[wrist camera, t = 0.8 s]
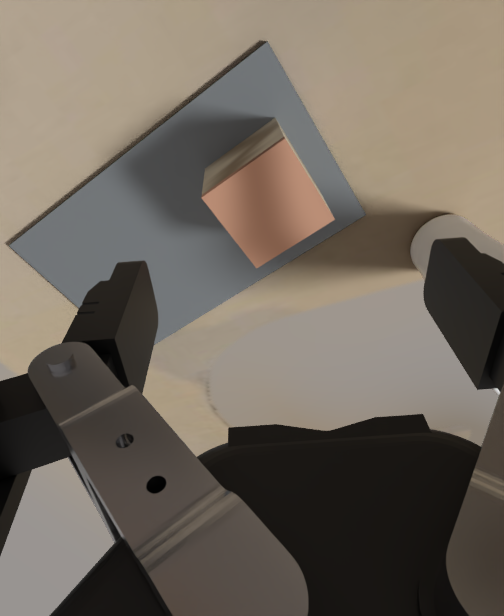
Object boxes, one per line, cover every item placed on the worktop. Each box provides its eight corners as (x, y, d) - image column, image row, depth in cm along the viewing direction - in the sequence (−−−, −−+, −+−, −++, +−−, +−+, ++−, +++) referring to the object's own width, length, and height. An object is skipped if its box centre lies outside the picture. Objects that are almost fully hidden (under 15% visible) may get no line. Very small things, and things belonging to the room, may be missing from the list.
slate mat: (267, 41, 28) (267, 41, 28) (364, 212, 35) (365, 214, 34) (10, 243, 35) (8, 245, 34) (134, 354, 41) (133, 357, 41)
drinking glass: (447, 185, 34) (576, 287, 21) (498, 234, 36) (640, 350, 24) (382, 250, 37) (462, 372, 24) (433, 291, 39) (531, 421, 27)
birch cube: (275, 117, 30) (285, 138, 25) (318, 188, 33) (335, 219, 28) (205, 168, 32) (201, 197, 27) (252, 231, 35) (256, 268, 30)
